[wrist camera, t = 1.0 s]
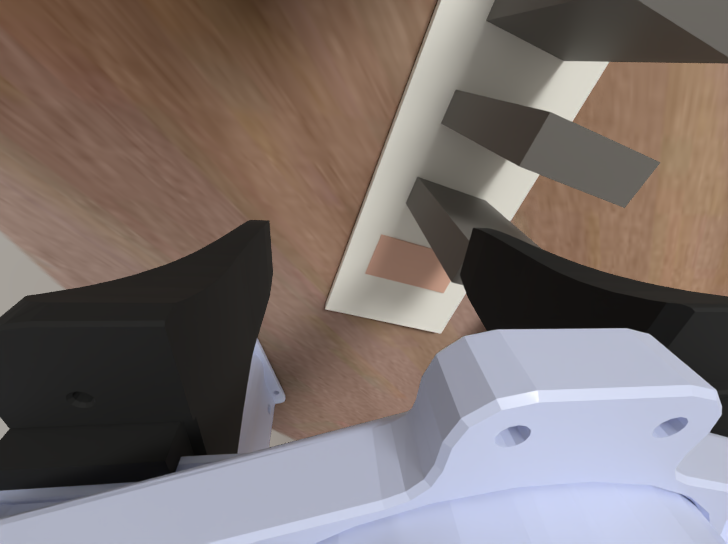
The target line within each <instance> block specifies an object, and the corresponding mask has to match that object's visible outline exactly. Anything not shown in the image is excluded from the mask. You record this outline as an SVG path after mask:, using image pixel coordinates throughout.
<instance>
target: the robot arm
mask: <svg viewBox="0 0 728 544" xmlns="http://www.w3.org/2000/svg"><path fill="white" fill-rule="evenodd" d="M272 276H273V266H272V252H271V238H270V224H269V221H264V220H249V221H247V222H245V223H244V224H242V225H240V226H239V227H237V228H236V229H234V230H233V231H231V232H229V233H228V234H226V235H225V236H223V237H221V238H220V239H218V240H216V241H215V242H213V243H211V244H209V245H207V246H206V247H204V248H202V249H200V250H198V251H196V252H194V253H192V254H190V255H188V256H186V257H183V258H181V259H179V260H176V261H174V262H171V263H169V264H166V265H163V266H160V267H157V268H154V269H151V270H148V271H145V272H142V273H139V274H136V275H132V276H128V277H125V278H121V279H117V280H113V281H108V282H104V283H99V284H95V285H90V286H85V287H80V288H74V289H67V290H61V291H56V292H49V293H43V294H36V295H29V296H25V297H24V298H23V299H22V300H20V301H19V302H18V303H17V304H16V305H14V306H13V307H12V308H11V309H10V310H8V311H7V312H6V313H5V314H4V315H2V316H1V317H0V417H1V418H2V420H3V421H4V422H5V423H6V424H7V426H8V427H9V428H10V429H9V431H7V433H6V434H5V435H4V436H3V438H2V439H1V440H0V544H728V297H727V296H720V295H712V294H705V293H698V292H691V291H685V290H680V289H674V288H669V287H664V286H659V285H654V284H649V283H645V282H640V281H636V280H632V279H628V278H624V277H620V276H616V275H613V274H609V273H606V272H602V271H599V270H596V269H593V268H590V267H587V266H584V265H581V264H578V263H575V262H572V261H570V260H567V259H565V258H562V257H560V256H557V255H555V254H552V253H550V252H547V251H545V250H543V249H540V248H538V247H536V246H533V245H531V244H529V243H527V242H524V241H522V240H520V239H518V238H515V237H513V236H511V235H508V234H506V233H503V232H501V231H498V230H494V229H491V228H473V229H472V233H471V237H470V240H469V244H468V247H467V251H466V254H465V258H464V262H463V265H462V269H461V272H460V277H461V280H462V283H463V286H464V289H465V291H466V294H467V296H468V298H469V300H470V302H471V304H472V306H473V307H474V309H475V311H476V313H477V314H478V316H479V318H480V319H481V321H482V323H483V325H484V326H485V328H486V330H487V331H486V332H481V333H476V334H471V335H467V336H463V337H461V338H460V339H458V340H457V341H455V342H454V343H452V344H450V345H449V346H447V347H446V348H444V349H443V350H441V351H439V352H438V353H437V354H436V355H435V357H434V358H433V360H432V362H431V363H430V365H429V366H428V368H427V369H426V371H425V373H424V374H423V376H422V379H421V382H420V386H419V390H418V394H417V398H416V401H415V403H414V405H413V407H412V408H411V409H410V410H409V411H407V412H403V413H399V414H395V415H391V416H388V417H384V418H380V419H376V420H372V421H369V422H365V423H361V424H357V425H353V426H349V427H346V428H342V429H338V430H334V431H330V432H327V433H323V434H319V435H315V436H311V437H308V438H304V439H300V440H296V441H292V442H288V443H285V444H281V445H277V446H274V447H269V444H270V437H271V429H272V422H273V415H274V407H275V404H277V403H282V402H284V401H285V398H286V396H285V393H284V391H283V389H282V387H281V385H280V383H279V381H278V379H277V377H276V375H275V373H274V371H273V369H272V367H271V365H270V363H269V361H268V359H267V357H266V355H265V352H264V350H263V348H262V346H261V344H260V342H259V340H258V338H257V337H258V334H259V331H260V327H261V324H262V320H263V317H264V314H265V310H266V307H267V303H268V300H269V296H270V291H271V284H272Z"/></svg>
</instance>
